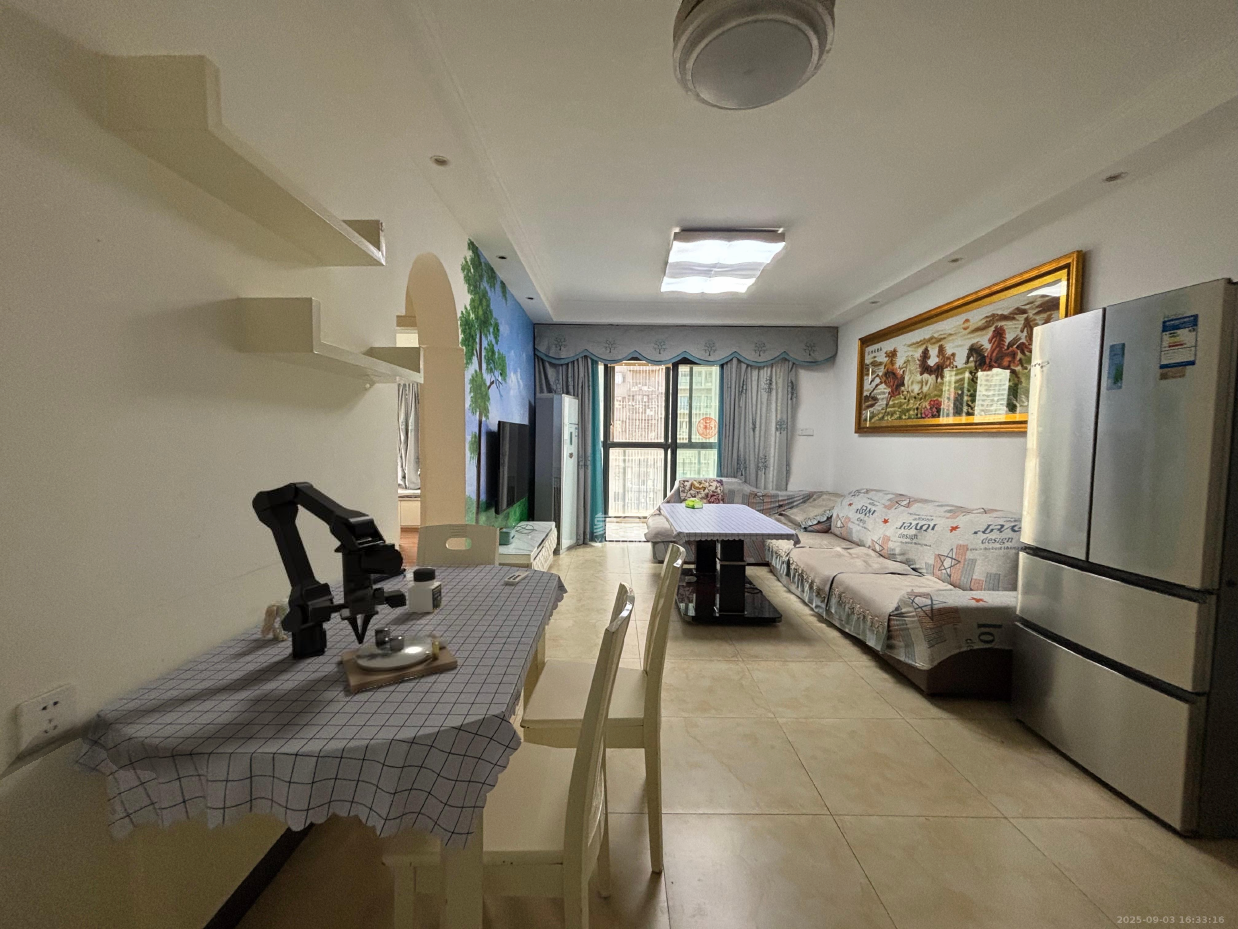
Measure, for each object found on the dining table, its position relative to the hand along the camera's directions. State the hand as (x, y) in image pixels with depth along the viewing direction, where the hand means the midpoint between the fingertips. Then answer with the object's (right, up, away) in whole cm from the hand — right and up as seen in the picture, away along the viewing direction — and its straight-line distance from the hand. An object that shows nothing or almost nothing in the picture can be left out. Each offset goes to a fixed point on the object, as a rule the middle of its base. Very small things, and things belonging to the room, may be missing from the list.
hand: (360, 643), depth 115 cm
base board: (+9, -4, -2) cm, 10 cm away
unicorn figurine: (-30, -4, +20) cm, 36 cm away
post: (+9, 0, -2) cm, 9 cm away
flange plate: (+10, -2, -1) cm, 10 cm away
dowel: (+18, -2, -4) cm, 18 cm away
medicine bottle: (+1, -3, +37) cm, 37 cm away
